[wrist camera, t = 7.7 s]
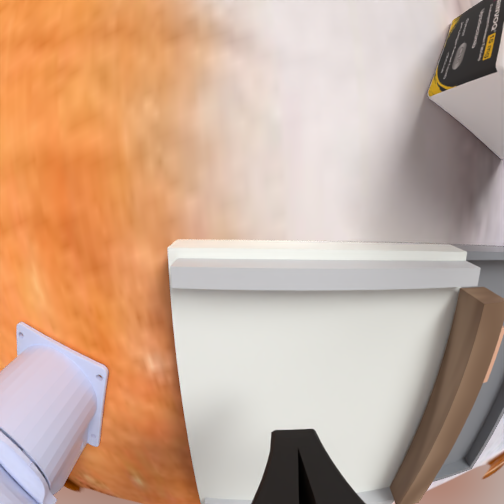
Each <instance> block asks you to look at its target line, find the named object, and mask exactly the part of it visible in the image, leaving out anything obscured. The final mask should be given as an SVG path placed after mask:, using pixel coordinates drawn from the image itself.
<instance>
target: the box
mask: <svg viewBox="0 0 504 504" xmlns="http://www.w3.org/2000/svg"><path fill="white" fill-rule="evenodd" d="M450 245H452V246H455V247H457V248H459V249H462V250H464V251H466V252H467V257H466V261H468V262H470V263H472V264H474V265H476V266H478V267H480V268H481V269H480V275H479V280H478V286H471V287H485V288H487V289H489V290H490V291H492V292H494V293H495V294H497V295H499V296H500V297H502V298H504V246H485V245H454V244H450ZM471 287H461V288H471ZM503 326H504V322H503ZM503 414H504V335H503V338H502V341H501V344H500V347H499V350H498V353H497V356H496V359H495V362H494V365H493V367H492V370H491V373H490V375H489V378H488V380H487V382H485V383H483V384H482V387H481V389H480V391H479V394H478V396H477V399H476V401H475V403H474V405H473V408H472V410H471V412H470V414H469V417H468V419H467V421H466V423H465V425H464V427H463V429H462V431H461V433H460V435H459V437H458V439H457V441H456V442H455V444H454V446H453V448H452V450H451V451H450V453H449V455H448V457H447V458H446V460H445V462H444V464H443V465H442V467H441V469H440V470H439V472H438V474H437V475H436V477H435V478H434V480H433V482H434V481H437V480H440V479H444V478H447V477H450V476H453V475H456V474H459V473H461V472H464V471H467V470H470V469H472V467H473V466H474V464H475V463H476V461H477V459H478V458H479V456H480V455H481V453H482V451H483V450H484V448H485V446H486V445H487V443H488V441H489V440H490V438H491V436H492V434H493V432H494V431H495V429H496V427H497V425H498V423H499V421H500V419H501V418H502V416H503Z"/></svg>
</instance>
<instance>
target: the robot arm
mask: <svg viewBox="0 0 504 504" xmlns="http://www.w3.org/2000/svg"><path fill="white" fill-rule="evenodd" d="M22 334H23V335H22ZM108 374H109V371H108V369H107V367H106V366H104V365H103V364H101V363H99V362H96V361H94V360H92V359H90V358H88V357H86V356H84V355H82V354H80V353H78V352H76V351H74V350H72V349H70V348H68V347H66V346H64V345H63V344H61V343H59V342H57V341H55V340H53V339H51V338H50V337H48V336H46V335H44V334H42V333H41V332H39V331H37V330H35V329H34V328H32V327H30V326H29V325H27V324H25V323H24V322H20V323H18V324H17V357H16V358H15V359H14V360H13V361H12V362H10V363H9V364H8V365H7V366H6V367H5V368H4V369H3V370H2V371H1V372H0V504H55V503H56V501H57V499H56V498H55V497H54V496H53V495H54V494H55V493H57V492H58V491H59V490H60V489H61V488H62V487H63V485H64V484H65V482H66V480H67V478H68V476H69V475H70V473H71V471H72V469H73V467H74V465H75V464H76V462H77V460H78V458H79V456H80V455H81V453H82V451H83V449H84V447H85V446H86V444H87V443H88V444H90V445H92V446H96V447H97V446H99V444H100V437H101V427H102V418H103V410H104V402H105V394H106V387H107V380H108ZM99 375H101V376H102V377H100V376H99ZM251 504H366V503H365V502H364V501H363V500H362V499H361V498H360V497H359V496H358V495H357V493H356V492H355V491H354V490H353V489H352V487H351V486H350V485H349V484H348V482H347V481H346V480H345V478H344V477H343V476H342V474H341V473H340V471H339V470H338V468H337V467H336V466H335V464H334V463H333V461H332V460H331V458H330V456H329V455H328V453H327V451H326V450H325V448H324V446H323V444H322V443H321V441H320V439H319V437H318V435H317V433H316V431H315V430H314V429H294V430H274V431H273V432H271V443H270V452H269V456H268V461H267V464H266V467H265V470H264V473H263V476H262V479H261V482H260V484H259V487H258V489H257V491H256V494H255V496H254V498H253V501H252V503H251Z"/></svg>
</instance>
